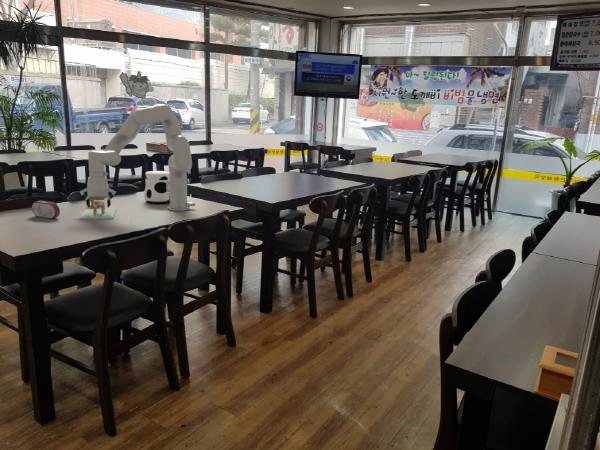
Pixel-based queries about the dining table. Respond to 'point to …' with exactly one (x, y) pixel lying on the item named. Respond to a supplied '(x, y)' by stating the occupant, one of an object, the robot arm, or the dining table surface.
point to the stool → (98, 203)
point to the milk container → (157, 186)
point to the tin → (45, 209)
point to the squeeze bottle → (96, 199)
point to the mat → (98, 214)
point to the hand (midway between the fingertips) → (98, 207)
